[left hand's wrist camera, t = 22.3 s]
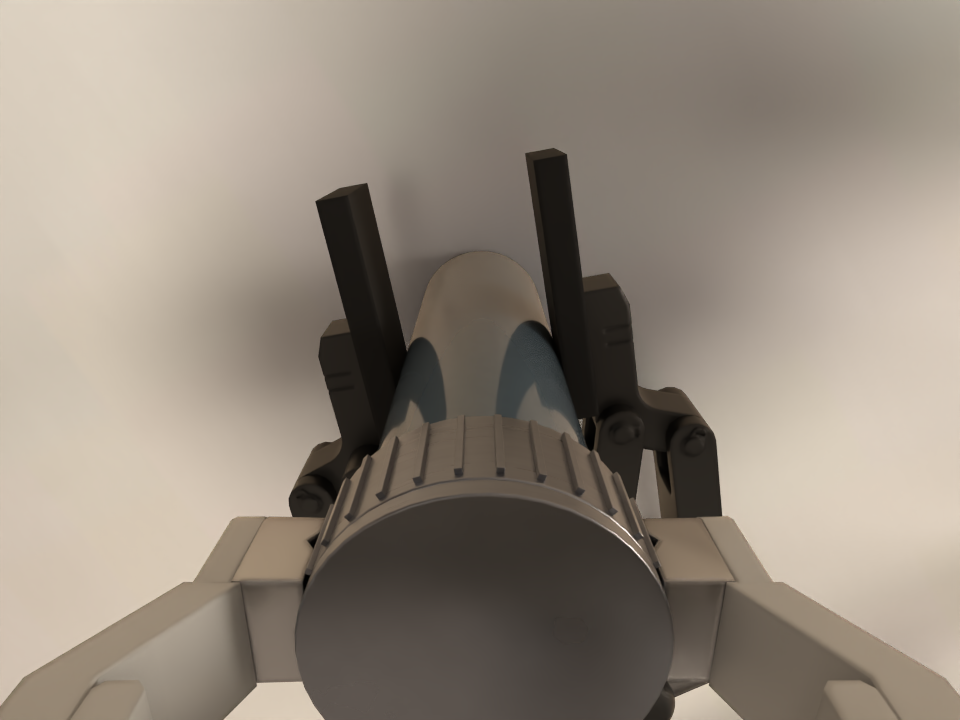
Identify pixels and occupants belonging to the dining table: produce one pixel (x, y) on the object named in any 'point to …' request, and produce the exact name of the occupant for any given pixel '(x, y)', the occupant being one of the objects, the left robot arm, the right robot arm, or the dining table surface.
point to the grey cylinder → (481, 352)
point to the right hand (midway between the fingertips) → (442, 174)
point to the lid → (484, 584)
